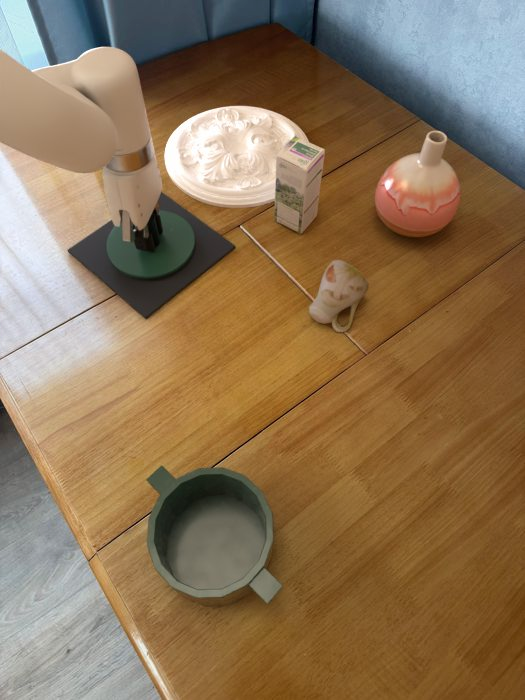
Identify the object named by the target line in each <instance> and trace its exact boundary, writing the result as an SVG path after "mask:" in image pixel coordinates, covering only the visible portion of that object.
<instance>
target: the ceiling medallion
mask: <svg viewBox="0 0 525 700" xmlns="http://www.w3.org/2000/svg"><path fill="white" fill-rule="evenodd" d="M295 136H296V137H298V138H300V139H302V140H305V141H307V142H309V143H310V141H309V139H308V137H307V135H306V134H305V132H304V131H303V130H302V128H301V127H300V126H299V125H298V124H296V123H295V122H294V121H292V120H291V119H289V118H288V117H286V116H284V115H283V114H280V113H278V112H275V111H273V110H269V109H266V108H262V107H257V106H251V105H249V106H248V105H229V106H222V107H217V108H212V109H209V110H206V111H203V112H200V113H198V114H196V115H194V116H192V117H190V118H188V119H187V120H186V121H184V122H183V123H181V124H180V125H179V126H178V127H177V128H176V129H175V130H174V131H173V132H172V134H171V135H170V137H169V138H168V141H167V142H166V146H165V150H164V164H165V169H166V172H167V174H168V177H169V178H170V180H171V181H172V183H173V184H174V185H175V186H176V187H177V188H178V189H179V190H180V191H181V192H182V193H184V194H185V195H186V196H189V198H192V199H194V200H196V201H198V202H200V203H203V204H207V205H211V206H213V207H217V208H219V207H220V208H227V209H247V208H255V207H260V206H264V205H268V204H271V203H273V202H275V184H276V155H277V154H278V153H279V152H280V150H281V149H282V148H283V147H284V146H285V145H286V144H287V143H288V142H289V141H290V140H291V139H292V138H293V137H295Z"/></svg>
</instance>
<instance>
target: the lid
mask: <svg viewBox="0 0 525 700" xmlns="http://www.w3.org/2000/svg"><path fill="white" fill-rule="evenodd" d="M157 215H160V219H161V223H162V227H163V233H162V234H161V235H159V232H158V228H157V224H156V220H155V216H154V214H153V213H152V214H151V216H150V219H149V221H148V223H147V226H148V231H149V233H152V237H153V241H154V245H155V251H154V252H148V251H141V250H138V249H136V247H135V243H134V241H133V242H132V243H130V242H125V241H123V232H122V223H121V225H120V227H117V226H115V227H114V228H113V230H112V231H111V233H110V234H109V237H108V240H107V246H106V248H107V254H108V257H109V259H110V261H111V263H112V264H113V265H114V266H115V267H116V268H117V269H118V270H119V271H121V272H122V273H124V274H126V275H129V276H131V277H135V278H142V279H151V278H158V277H162V276H166V275H168V274H171V273H173V272H175V271H176V270H178V269H179V268H181V267H182V266H183V265H184V264H185V263H186V262H187V261H188V260H189V258H190V257H191V255H192V253H193V251H194V247H195V236H194V232H193V230H192V228H191V226H190V225H189V223H188V222H187V221H186V220H185V219H183V218H182V217H180V216H179V215H177V214H175V213H172V212H168V211H163V210H160V211H159V214H157ZM134 226H135V225H134ZM135 228H137V229H138V227H137V226H135Z"/></svg>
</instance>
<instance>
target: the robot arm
mask: <svg viewBox="0 0 525 700" xmlns="http://www.w3.org/2000/svg"><path fill="white" fill-rule="evenodd" d="M144 99H145V98H144V94H143V90H142V85H141V80H140V76H139V72H138V67H137V65H136V62H135V60H134V59H133V57H132V56H131V55H130V54H129V53H127V52H126V51H125V50H122V49H121V48H118V47H112V46H100V47H95V48H91V49H89V50H86V51H85V52H83V53H82V54H81V55H80V56H78V57H77V59H73V60H71V61H70V60H69V61H67V62H62V63H58V64H55V65H49V66H44V67H40V68H36V69H33V70H31V69H30V68H28V67H26V66H25V65H23V64H22V63H20V62H19V61H17V60H16V59H15V58H14V57H12V56H10V55H9V54H8V53H6V52H5V51H4V50H3V49H1V48H0V143H1V144H3V145H5V146H6V147H9V148H11V149H12V150H15V151H17V152H19V153H22V154H24V155H26V156H28V157H31V158H32V159H35V160H38V161H41V162H43V163H46V164H49V165H51V166H54V167H57V168H59V169H62V170H65V171H68V172H71V173H75V174H92V173H96V172H99V171H101V170H102V171H101V173H102V183H103V190H104V196H105V198H106V204H107V207H108V211H109V215H110V218H111V220H112V221H113V224H114V225H115V226H117V227H120V225H121V223H122V232H123V241H125V242H130V243H132V242H133V241H134V243H135V247H136V249H138V250H141V251H148V252H154V251H155V245H154V241H153V237H152V233H149V231H148V226H147V223H148V221H149V219H150V216H151V214H152V213H153V214H154V216H155V220H156V224H157V228H158V232H159V235H161V234H162V233H163V227H162V223H161V219H160V215H157V214H159V211H160V208H159V204H158V199H159V197H160V194H161V192H163V182H162V176H161V171H160V167H159V163H158V160H157V157H156V152H155V151H156V150H155V146H154V142H153V138H152V132H151V128H150V123H149V118H148V114H147V108H146V103H145V100H144ZM134 225H135V226H137V227H138V229H137V228H135V226H134Z"/></svg>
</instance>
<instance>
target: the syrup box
mask: <svg viewBox="0 0 525 700" xmlns="http://www.w3.org/2000/svg"><path fill="white" fill-rule="evenodd" d="M325 152H326V149H325V148H322V147H320V146H318V145H316V144H313V143H311V142H310V141H309V142H307V141H305V140H302V139H300V138H298V137H296V136H295V137H293V138H292V139H291V140H290V141H289V142H288V143H287V144H286V145H285V146H284V147H283V148H282V149H281V150H280V152H279V153H278V154H277V155H276V184H275V201H274V222H275V223H277V224H280V225H281V226H283V227H286V228H287V229H289V230H291V231H293V232H295V233H297V234H299V235H301V234H303V233H304V231H305V230H306V229H307V228H308V227H309V226H310V225H311V223H312V222H313V221H314V220H315V218H316V217H317V216H318V211H319V201H320V200H319V199H320V198H319V197H320V192H321V183H322V176H323V170H324V162H325Z"/></svg>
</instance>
